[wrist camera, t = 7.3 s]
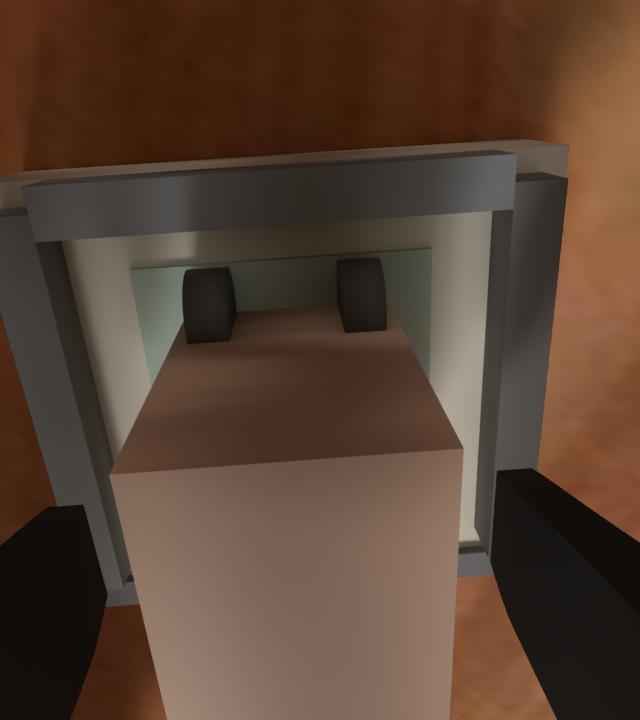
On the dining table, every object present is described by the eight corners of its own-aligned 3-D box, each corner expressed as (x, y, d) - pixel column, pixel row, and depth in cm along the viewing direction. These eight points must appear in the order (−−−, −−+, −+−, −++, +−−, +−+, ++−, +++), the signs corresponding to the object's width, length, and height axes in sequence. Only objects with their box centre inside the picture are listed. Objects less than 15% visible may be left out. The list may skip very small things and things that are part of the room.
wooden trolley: (225, 570, 16) (191, 824, 10) (178, 260, 12) (87, 387, 7) (389, 557, 16) (445, 801, 10) (387, 247, 12) (468, 360, 7)
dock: (115, 539, 18) (75, 638, 15) (22, 171, 14) (-64, 192, 10) (495, 508, 18) (541, 598, 15) (523, 138, 14) (598, 148, 11)
